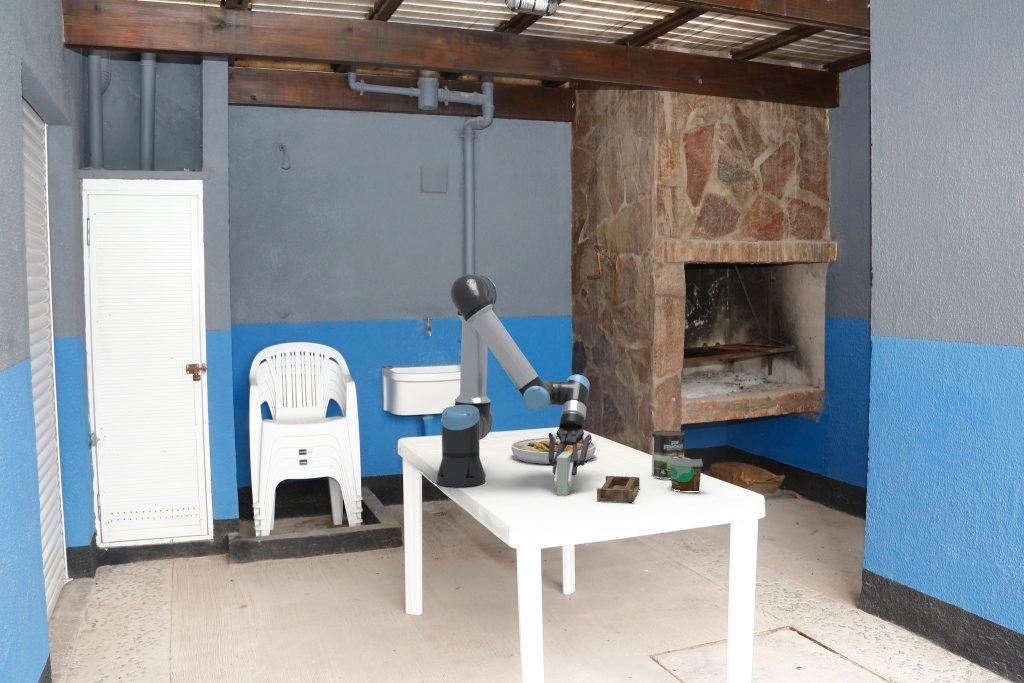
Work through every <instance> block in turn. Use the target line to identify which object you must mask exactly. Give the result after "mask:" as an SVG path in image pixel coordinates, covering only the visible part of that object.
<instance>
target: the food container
mask: <svg viewBox="0 0 1024 683" xmlns="http://www.w3.org/2000/svg"><path fill="white" fill-rule="evenodd" d="M702 460H703V459H702V458H696V459H695V458H690V457H686V456H684V457H679V456H677V454H676V453H672V454H670V456H669V458H668V463H669V464H670V470H671V480H670V483H671V489H672V488H673V489H675V490H680V491H699V492H700V488H701V486H700V485H701V477H702V476H701V474H702V467H703V464H704V463H703V461H702ZM673 489H672V490H673Z"/></svg>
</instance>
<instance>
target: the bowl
mask: <svg viewBox="0 0 1024 683" xmlns="http://www.w3.org/2000/svg"><path fill="white" fill-rule="evenodd" d="M583 442H584V440H583V439H582V440H581V441H580V442H579V443H577V451H578V460H579V459H580V455H581V451H582V446H583ZM549 444H550V440H549V437H541V438H540V437H538V438H530V439H522V440H518V441H515V442H513V443H512V444H511V452H512V455H513V456H514V457H515V458H516V459H518V460H519V461H522V462H524V461H525V463H528V462H530V463H529V464H534V463H539V464H538V465H544V464H550V463H549V459H548V456H549ZM559 445H560V440H559V438H558V437H557V438H556V441H555V449H554V459H555V456H556V453H557V450H558V448H559ZM596 449H597V445H596V443H594V442H592V441H591V443H590V444H589V446H588V451H587V455H586V459H585V462H586V461H588V460H591V458H592V457H593V456H594V455H595V453H596ZM564 451H568V452H573V447H572V445H567V446H566V448H565V450H564Z"/></svg>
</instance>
